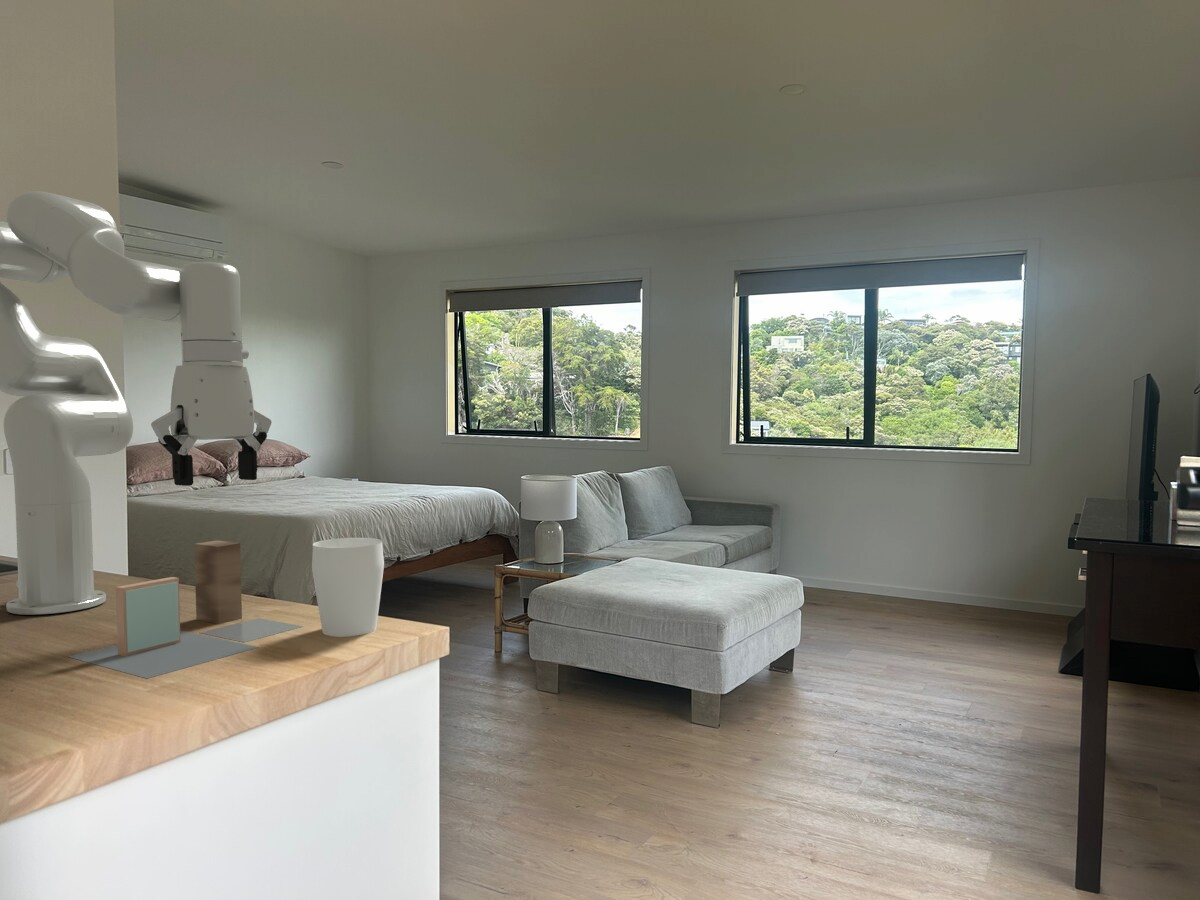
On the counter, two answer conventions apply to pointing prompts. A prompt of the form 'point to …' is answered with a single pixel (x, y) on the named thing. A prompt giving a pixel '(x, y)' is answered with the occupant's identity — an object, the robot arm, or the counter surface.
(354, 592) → the cup
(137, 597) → the tile
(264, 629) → the coaster
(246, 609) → the counter surface
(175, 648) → the mat
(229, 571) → the bar
